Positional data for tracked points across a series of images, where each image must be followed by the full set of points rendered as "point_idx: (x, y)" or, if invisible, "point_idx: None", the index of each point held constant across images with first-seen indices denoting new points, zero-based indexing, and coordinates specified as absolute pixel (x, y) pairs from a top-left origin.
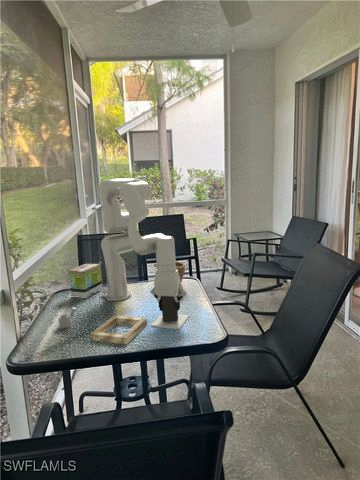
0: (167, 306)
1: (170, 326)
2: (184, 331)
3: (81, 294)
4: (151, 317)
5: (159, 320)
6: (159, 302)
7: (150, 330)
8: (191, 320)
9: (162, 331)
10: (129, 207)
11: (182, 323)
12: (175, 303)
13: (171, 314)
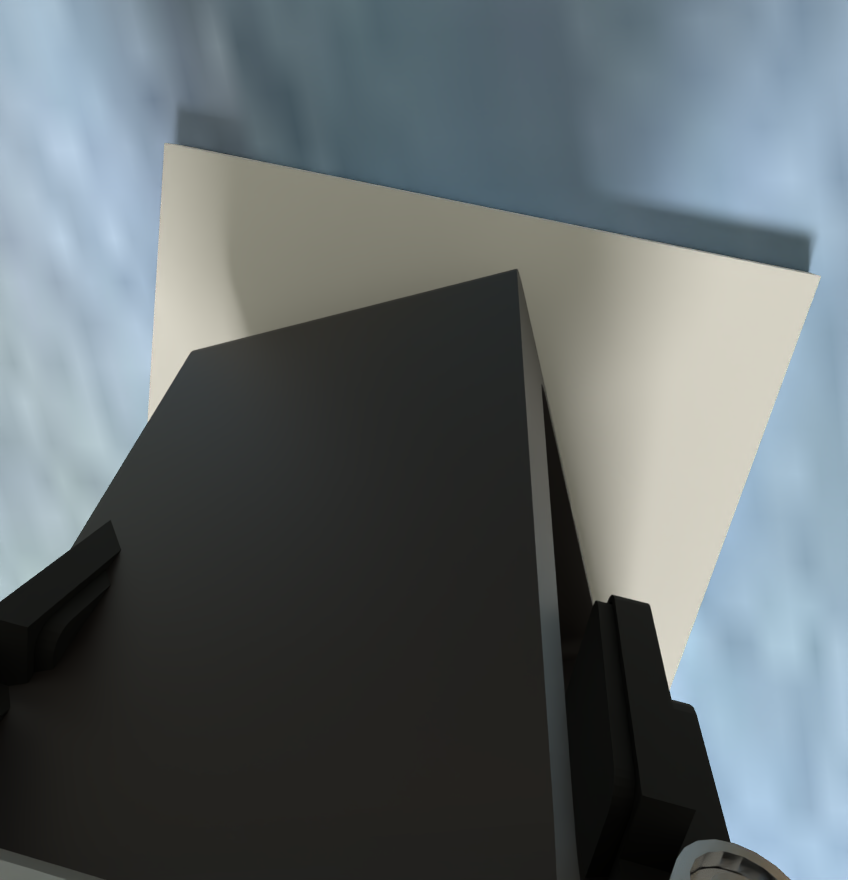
0: (338, 537)
1: (361, 202)
2: (64, 46)
3: None
4: (842, 685)
5: (648, 496)
6: (676, 779)
7: (807, 58)
8: (71, 512)
9: (512, 19)
10: None
11: (158, 345)
12: (15, 605)
13: (290, 394)
